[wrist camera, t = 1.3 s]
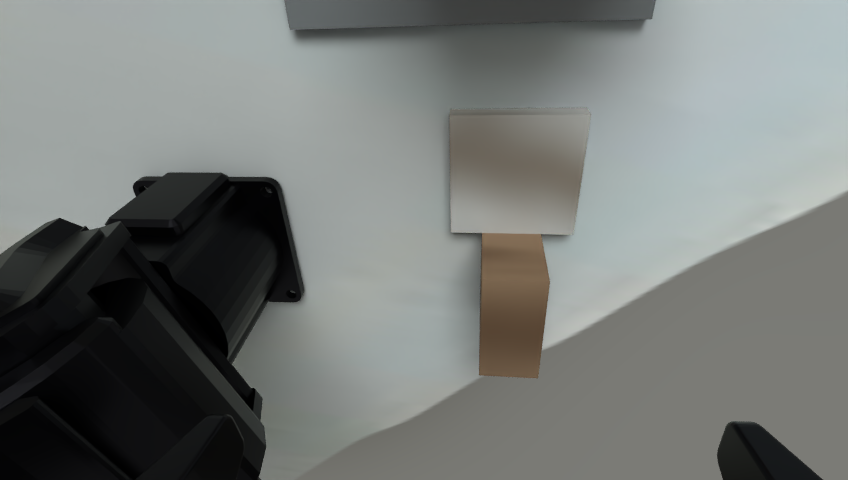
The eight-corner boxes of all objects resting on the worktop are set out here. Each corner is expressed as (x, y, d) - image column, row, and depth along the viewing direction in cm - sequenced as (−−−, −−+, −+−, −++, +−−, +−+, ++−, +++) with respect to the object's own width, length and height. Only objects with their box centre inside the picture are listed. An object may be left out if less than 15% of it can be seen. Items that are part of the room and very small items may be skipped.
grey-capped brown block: (557, 314, 23) (570, 379, 20) (453, 310, 23) (448, 373, 20) (587, 107, 18) (611, 148, 14) (450, 108, 18) (443, 149, 15)
